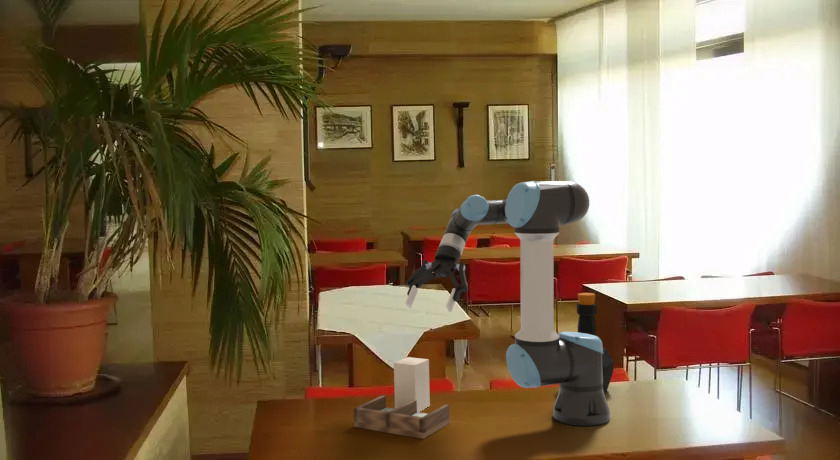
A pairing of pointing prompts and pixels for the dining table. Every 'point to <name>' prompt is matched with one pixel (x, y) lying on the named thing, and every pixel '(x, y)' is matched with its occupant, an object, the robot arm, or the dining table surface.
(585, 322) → the bottle
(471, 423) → the dining table surface
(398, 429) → the rack
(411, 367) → the white block
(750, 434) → the dining table surface
